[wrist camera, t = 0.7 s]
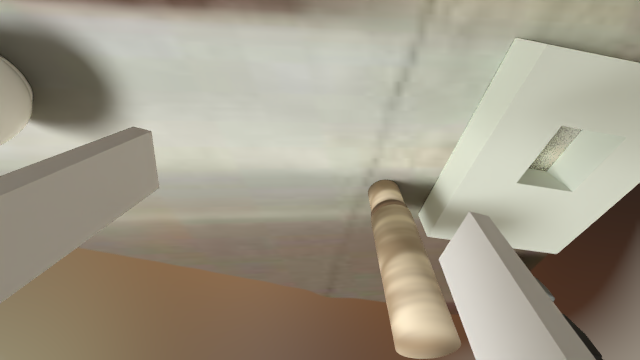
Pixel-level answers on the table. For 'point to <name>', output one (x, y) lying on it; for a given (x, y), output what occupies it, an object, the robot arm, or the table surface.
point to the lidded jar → (13, 101)
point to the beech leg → (409, 279)
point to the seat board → (531, 138)
